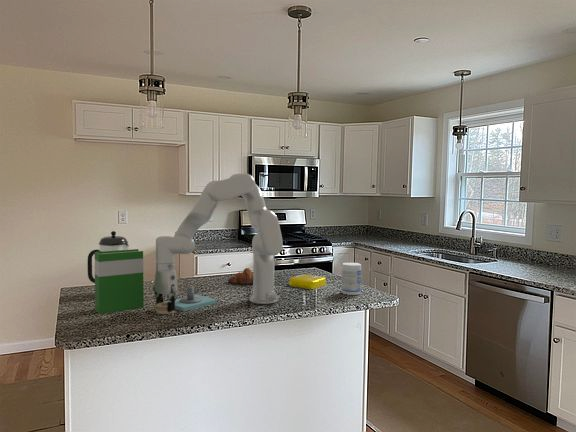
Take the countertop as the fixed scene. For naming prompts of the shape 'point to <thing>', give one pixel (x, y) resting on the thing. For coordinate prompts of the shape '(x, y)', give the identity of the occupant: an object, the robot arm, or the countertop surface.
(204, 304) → the teal plate with knob
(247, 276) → the pastry
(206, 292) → the countertop surface
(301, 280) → the element tile
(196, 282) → the countertop surface
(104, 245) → the coffee press
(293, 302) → the countertop surface
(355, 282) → the supplement tub
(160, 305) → the ring
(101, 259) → the hardback book
